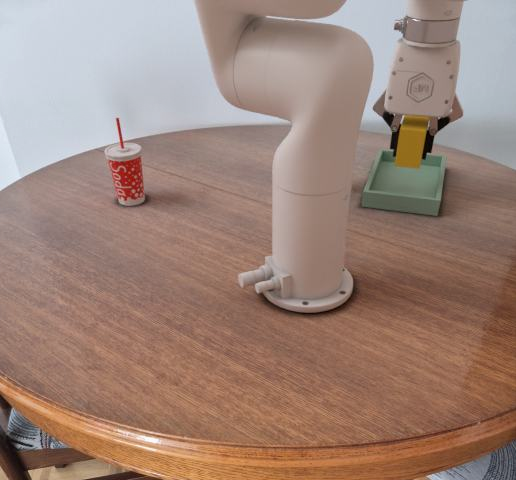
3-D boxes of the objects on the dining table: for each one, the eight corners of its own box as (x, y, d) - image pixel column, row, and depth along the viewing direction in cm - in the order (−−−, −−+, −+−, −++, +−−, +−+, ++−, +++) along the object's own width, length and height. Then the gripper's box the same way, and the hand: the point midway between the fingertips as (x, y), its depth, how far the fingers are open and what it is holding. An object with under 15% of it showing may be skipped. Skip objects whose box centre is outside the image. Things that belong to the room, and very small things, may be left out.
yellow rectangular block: (419, 168, 88) (426, 131, 84) (394, 166, 89) (400, 129, 85) (423, 152, 93) (429, 116, 89) (399, 150, 94) (404, 114, 90)
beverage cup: (107, 200, 96) (90, 119, 87) (135, 189, 99) (121, 109, 90) (128, 211, 93) (112, 127, 83) (156, 199, 96) (144, 117, 87)
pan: (437, 216, 90) (440, 200, 88) (361, 206, 93) (363, 191, 91) (443, 169, 104) (446, 155, 102) (377, 162, 107) (379, 148, 105)
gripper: (368, 33, 78) (355, 158, 90) (492, 39, 74) (461, 169, 86) (376, 22, 83) (363, 142, 95) (491, 27, 79) (462, 151, 91)
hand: (410, 154), depth 90 cm, fingers closed on yellow rectangular block, 4 cm apart
